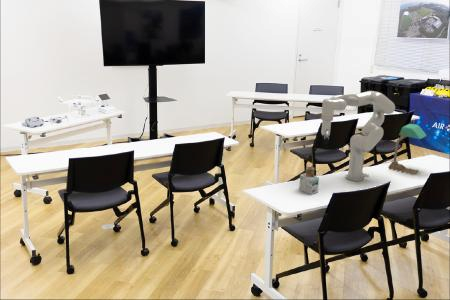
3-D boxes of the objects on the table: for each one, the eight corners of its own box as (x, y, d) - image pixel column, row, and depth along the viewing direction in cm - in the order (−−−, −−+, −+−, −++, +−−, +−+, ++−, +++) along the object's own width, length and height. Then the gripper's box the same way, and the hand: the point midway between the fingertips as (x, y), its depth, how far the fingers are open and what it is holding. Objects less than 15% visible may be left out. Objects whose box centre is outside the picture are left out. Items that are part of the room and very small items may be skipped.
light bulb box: (318, 192, 291) (319, 176, 288) (311, 194, 287) (312, 179, 283) (305, 187, 299) (306, 172, 295) (298, 189, 294) (299, 174, 291)
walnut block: (313, 174, 291) (314, 167, 290) (313, 177, 287) (314, 169, 285) (305, 174, 292) (306, 166, 291) (305, 176, 287) (306, 169, 286)
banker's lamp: (393, 165, 351) (400, 121, 341) (421, 171, 338) (428, 126, 328) (386, 170, 339) (392, 124, 329) (414, 176, 326) (421, 129, 316)
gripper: (320, 114, 306) (318, 139, 311) (322, 120, 289) (320, 146, 294) (331, 115, 305) (329, 139, 310) (334, 120, 289) (332, 146, 294)
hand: (325, 142), depth 302 cm, fingers open, 9 cm apart
